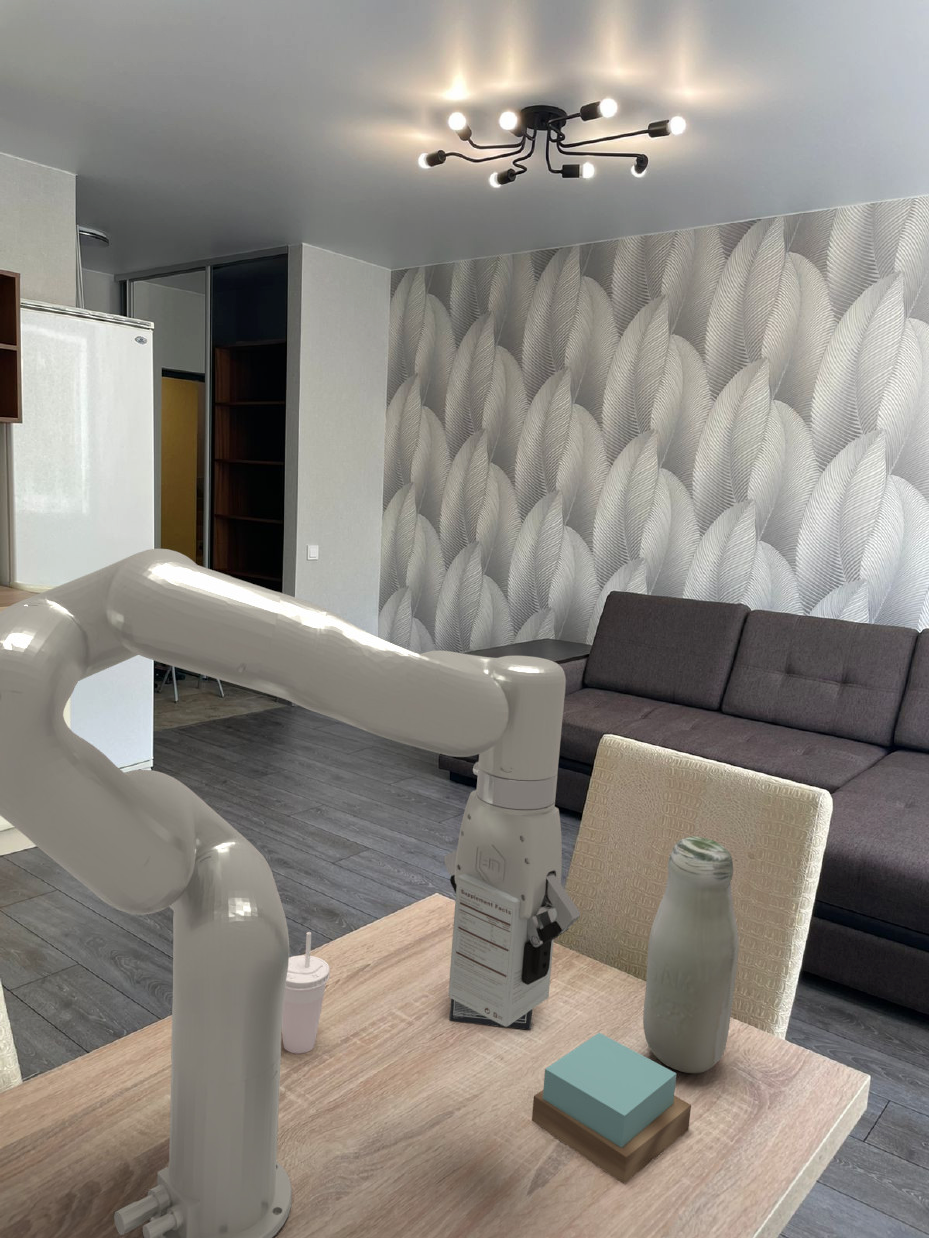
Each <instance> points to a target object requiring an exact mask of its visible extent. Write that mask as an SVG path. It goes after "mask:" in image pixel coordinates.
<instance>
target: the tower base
mask: <svg viewBox="0 0 929 1238" xmlns="http://www.w3.org/2000/svg"><path fill="white" fill-rule="evenodd" d="M532 1102H533V1104H532V1111H531V1112H532V1113H531V1114H532V1115H531V1122H532V1123H533V1122H534V1123H535V1125H538V1127H540V1128H542V1130H543V1129H544V1131H546V1132H547V1133H549V1134H550V1135H552V1136H553V1137H555V1138H556V1139H558V1140H559V1141H560V1142H562V1143H563V1144H565V1145H566V1146H568V1147H569V1148H571V1149H572V1150H574V1151H575V1152H577V1153H578V1154H579V1155H581V1156H583V1157H584V1158H585V1159H587V1160H588V1161H590V1162H591V1163H593V1164H594V1166H595V1165H596V1166H597V1167H598V1168H600V1169H601V1170H603V1171H604V1172H605V1173H606V1174H608V1175H610V1176H612V1177H613V1178H614V1179H615V1180H617V1181H619V1182H620V1183H621V1184H623V1185H624V1184H626V1183H627V1182H628V1181H629V1180H630V1179H632V1178H633V1177H635V1175H636V1174H637V1173H639V1172H640V1171H641V1170H642V1169H644V1168H645V1167H646V1166H647V1165H648V1164H650V1163H651V1162H652V1161H653V1160H654V1159H656V1158H657V1157H658V1156H659V1155H661V1154H662V1153H663V1152H664V1151H665V1150H667V1149H668V1147H670V1146H671V1145H672V1144H673V1143H675V1142H676V1141H677V1140H678V1139H680V1138H682V1136H683V1135H684V1134H686V1133H687V1132H688V1131H689V1129H690V1120H691V1110H692V1105H691V1104H690V1103H688V1102H686V1101H685V1100H683V1099H681V1098H680V1097H678V1096H676V1094H674V1102H673V1104H672V1105H671V1106H670V1107H669V1108H668V1109H666V1110H665V1111H664V1112H663V1113H662V1114H661V1115H659V1116H658V1117H657V1118H656V1119H655V1120H654V1121H652V1122H651V1123H650V1124H649V1125H648V1126H647V1127H645V1128H644V1129H643V1130H642V1131H641V1132H640V1133H638V1134H637V1135H636V1136H635V1137H634V1138H633V1139H631V1140H630V1141H629V1142H628V1143H627V1144H626V1145H624V1146H623V1147H622V1148H621V1147H619V1146H618V1145H616V1144H615V1143H613V1142H611V1141H610V1140H608V1139H606V1138H605V1137H603V1136H602V1135H600V1134H598V1133H597V1132H595V1131H594V1130H592V1129H590V1128H589V1127H587V1126H585V1125H584V1124H582V1123H581V1122H579V1121H577V1120H576V1119H574V1118H573V1117H571V1116H569V1115H568V1114H566V1113H565V1112H563V1111H561V1110H560V1109H558V1108H557V1107H555V1106H553V1105H552V1104H550V1103H549V1102H547V1101H545V1100H544V1099H543V1089H542V1090H540V1091H539V1092H537V1093H535V1094H534V1095H533V1101H532Z"/></svg>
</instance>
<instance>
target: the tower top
mask: <svg viewBox="0 0 929 1238" xmlns="http://www.w3.org/2000/svg"><path fill="white" fill-rule="evenodd" d="M676 1080H677V1073H676V1072H674V1071H672V1070H671V1069H669V1068H667V1067H665V1066H663V1065H661V1064H660V1063H657V1062H656V1061H653V1060H652V1059H650V1058H648V1057H646V1056H644V1055H642V1054H640V1053H638V1052H637V1051H635V1050H633V1049H631V1048H629V1047H627V1046H626V1045H624V1044H622V1043H620V1042H617V1041H616V1040H614V1039H613V1038H611V1037H608V1036H607V1035H605V1034H603V1033H601V1032H598V1033H596V1034H595V1035H592V1036H591V1037H590V1038H589V1039H587V1040H586V1041H585V1042H583V1043H580V1044H579V1046H577V1047H575V1048H574V1049H572V1050H571V1051H570V1052H568V1053H567V1054H565V1055H564V1056H562V1057H561V1058H558V1059H557V1060H556V1061H555V1062H553V1063H551V1064H550V1065H549V1066H547V1067H546V1068H544V1079H543V1089H542V1090H543V1099H544V1100H545V1101H547V1102H549V1103H550V1104H552V1105H553V1106H555V1107H557V1108H558V1109H560V1110H561V1111H563V1112H565V1113H566V1114H568V1115H569V1116H571V1117H573V1118H574V1119H576V1120H577V1121H579V1122H581V1123H582V1124H584V1125H585V1126H587V1127H589V1128H590V1129H592V1130H594V1131H595V1132H597V1133H598V1134H600V1135H602V1136H603V1137H605V1138H606V1139H608V1140H610V1141H611V1142H613V1143H615V1144H616V1145H618V1146H619V1147H621V1148H622V1147H623V1146H624V1145H626V1144H627V1143H628V1142H629V1141H630V1140H631V1139H633V1138H634V1137H635V1136H636V1135H637V1134H638V1133H640V1132H641V1131H642V1130H643V1129H644V1128H645V1127H647V1126H648V1125H649V1124H650V1123H651V1122H652V1121H654V1120H655V1119H656V1118H657V1117H658V1116H659V1115H661V1114H662V1113H663V1112H664V1111H665V1110H666V1109H668V1108H669V1107H670V1106H671V1105H672V1104H673V1102H674V1095H675V1092H676V1082H677V1081H676Z"/></svg>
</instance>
